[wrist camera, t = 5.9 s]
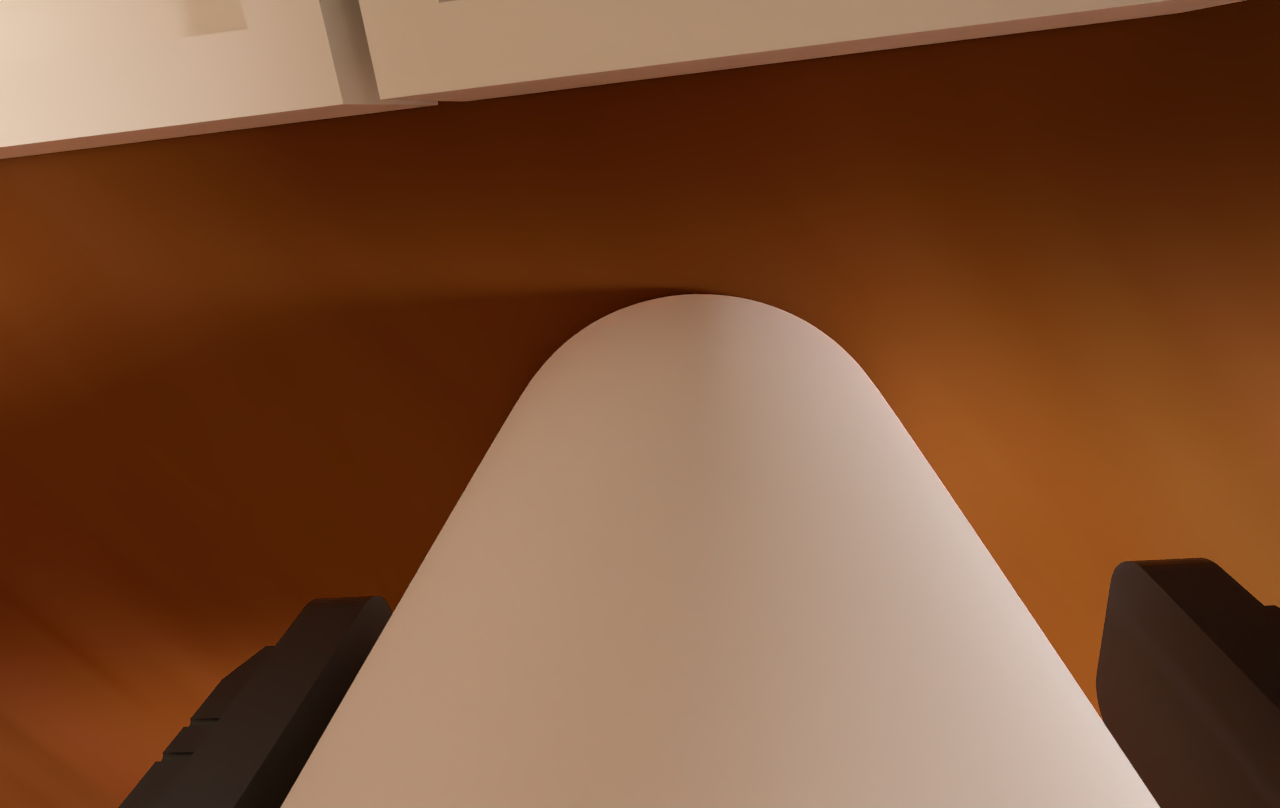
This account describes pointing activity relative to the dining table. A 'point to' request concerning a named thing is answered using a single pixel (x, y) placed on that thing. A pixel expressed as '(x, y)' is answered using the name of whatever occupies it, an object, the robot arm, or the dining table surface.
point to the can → (711, 604)
